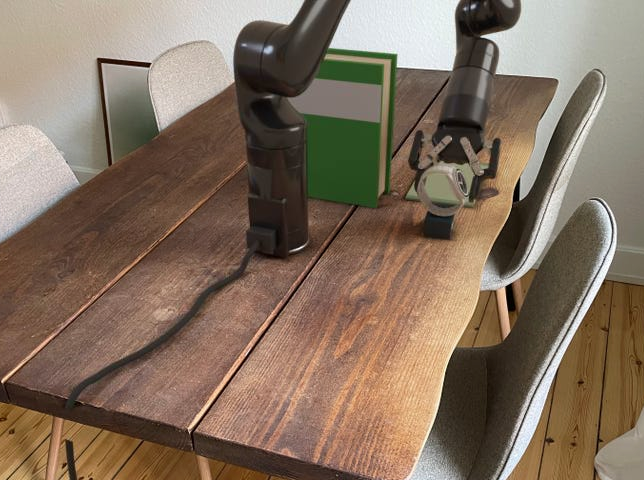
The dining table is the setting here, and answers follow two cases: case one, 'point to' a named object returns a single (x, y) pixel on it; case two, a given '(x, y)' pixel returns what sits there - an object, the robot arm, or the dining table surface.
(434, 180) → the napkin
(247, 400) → the dining table surface
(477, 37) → the robot arm
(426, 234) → the watch
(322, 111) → the hardback book
